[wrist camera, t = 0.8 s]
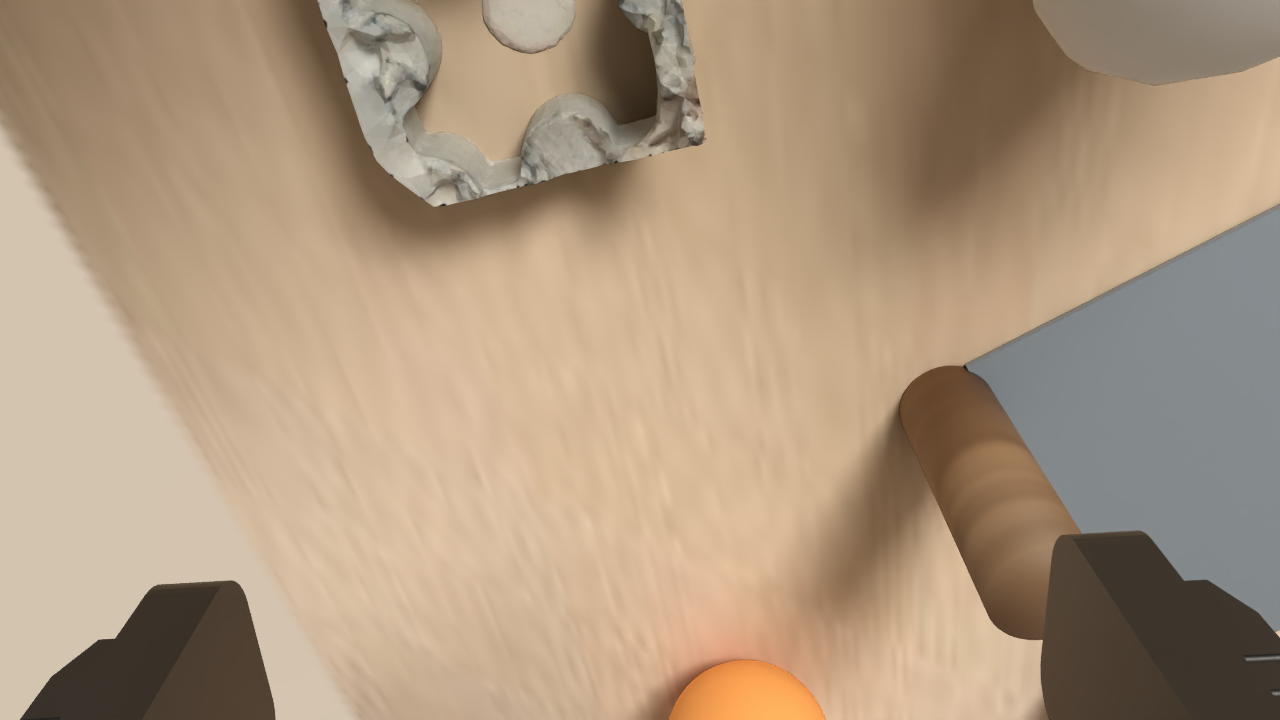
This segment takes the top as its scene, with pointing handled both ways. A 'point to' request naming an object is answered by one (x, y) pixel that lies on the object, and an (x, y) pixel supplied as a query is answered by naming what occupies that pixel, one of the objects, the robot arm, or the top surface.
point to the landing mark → (1167, 409)
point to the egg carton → (558, 130)
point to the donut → (1164, 36)
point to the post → (987, 494)
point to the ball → (746, 695)
